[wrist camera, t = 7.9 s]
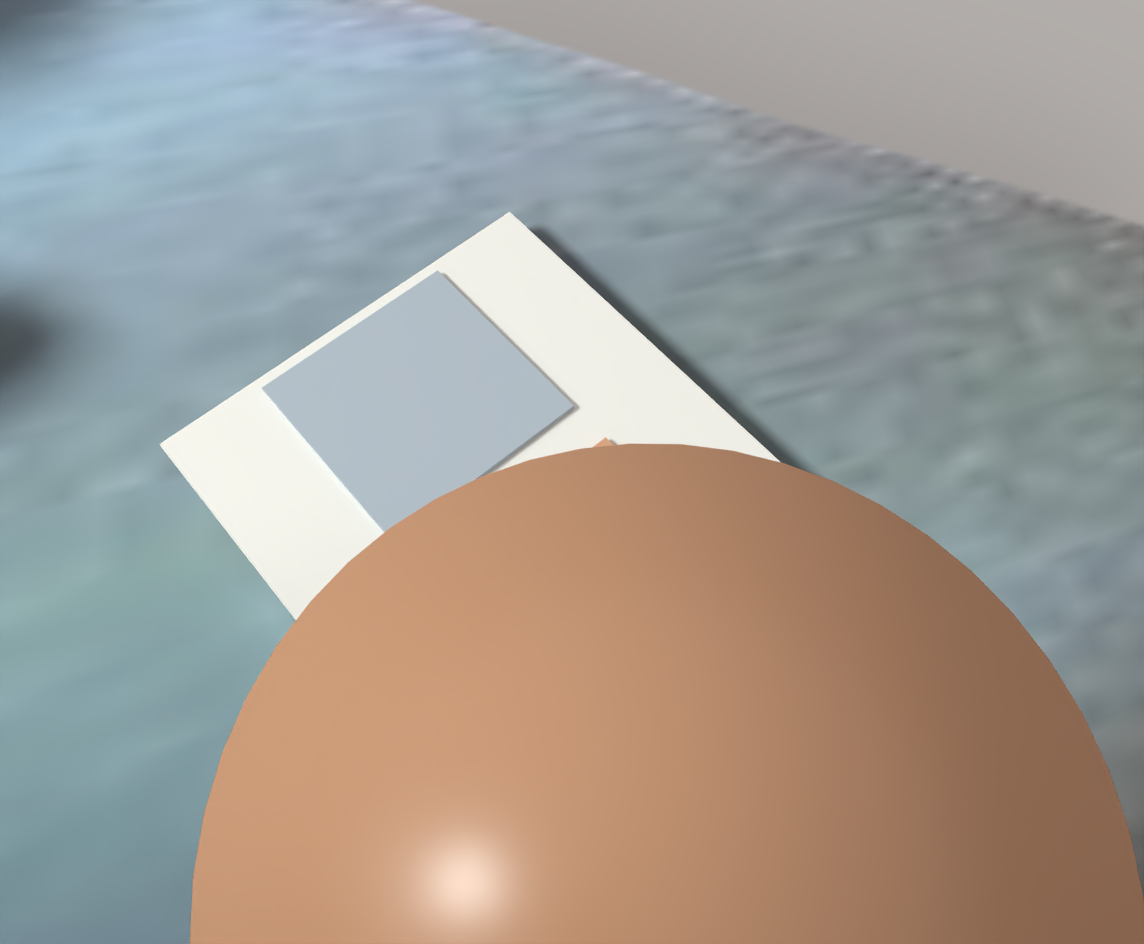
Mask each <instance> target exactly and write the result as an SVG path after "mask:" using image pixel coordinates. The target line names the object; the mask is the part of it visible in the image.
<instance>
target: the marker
mask: <svg viewBox="0 0 1144 944" xmlns="http://www.w3.org/2000/svg"><path fill="white" fill-rule="evenodd" d="M190 944H1144V900H1143V893H1142V888H1141V884H1140V879H1139V874H1138V870H1137V865H1136V860H1135V855H1134V851H1133V846H1132V841H1131V836H1130V832H1129V828H1128V825H1127V822H1126V819H1125V816H1124V814H1123V811H1122V808H1121V805H1120V802H1119V799H1118V796H1117V793H1116V790H1115V787H1114V784H1113V781H1112V778H1111V775H1110V772H1109V769H1108V767H1107V765H1106V763H1105V761H1104V759H1103V756H1102V754H1101V752H1100V750H1099V748H1098V746H1097V744H1096V742H1095V739H1094V737H1093V735H1092V733H1091V731H1090V729H1089V727H1088V725H1087V722H1086V720H1085V718H1084V716H1083V714H1082V712H1081V710H1080V709H1079V707H1078V705H1077V704H1076V702H1075V701H1074V699H1073V697H1072V696H1071V694H1070V692H1069V691H1068V689H1067V688H1066V686H1065V684H1064V683H1063V681H1062V680H1061V678H1060V676H1059V675H1058V673H1057V671H1056V670H1055V668H1054V667H1053V665H1052V663H1051V662H1050V660H1049V659H1048V657H1047V656H1046V655H1045V654H1044V652H1043V651H1042V650H1041V649H1040V647H1039V646H1038V645H1037V643H1036V642H1035V641H1034V640H1033V638H1032V637H1031V636H1030V635H1029V633H1028V632H1027V631H1026V629H1025V628H1024V627H1023V626H1022V624H1021V623H1020V622H1019V620H1018V619H1017V618H1016V617H1015V615H1014V614H1013V613H1012V612H1011V611H1010V610H1009V609H1008V608H1007V607H1006V606H1005V605H1004V604H1003V603H1002V602H1001V601H1000V600H999V599H998V598H997V596H996V595H995V594H994V593H993V592H992V591H991V590H990V589H989V588H988V587H987V586H986V585H985V584H984V583H983V582H982V581H981V580H980V579H979V578H978V577H977V576H976V575H975V574H974V573H973V572H972V571H971V570H970V569H968V568H967V567H966V566H965V565H963V564H962V563H961V562H960V561H959V560H957V559H956V558H955V557H954V556H952V555H951V554H950V553H949V552H948V551H946V550H945V549H944V548H943V547H941V546H940V545H939V544H938V543H937V542H935V541H934V540H933V539H932V538H930V537H929V536H928V535H926V534H925V533H923V532H922V531H920V530H919V529H917V528H916V527H914V526H913V525H911V524H909V523H908V522H906V521H905V520H903V519H902V518H900V517H899V516H897V515H896V514H894V513H892V512H891V511H889V510H888V509H886V508H885V507H883V506H882V505H880V504H878V503H876V502H874V501H872V500H870V499H868V498H866V497H864V496H862V495H860V494H858V493H856V492H854V491H852V490H850V489H848V488H846V487H844V486H842V485H840V484H838V483H836V482H834V481H831V480H828V479H826V478H823V477H820V476H817V475H815V474H812V473H809V472H806V471H804V470H801V469H798V468H796V467H793V466H790V465H787V464H785V463H781V462H777V461H773V460H769V459H765V458H761V457H757V456H753V455H749V454H744V453H740V452H736V451H732V450H724V449H716V448H708V447H700V446H692V445H684V444H621V445H611V446H601V447H592V448H582V449H576V450H572V451H567V452H563V453H558V454H554V455H549V456H545V457H540V458H536V459H531V460H528V461H525V462H522V463H519V464H516V465H513V466H511V467H508V468H505V469H502V470H499V471H496V472H493V473H490V474H488V475H485V476H482V477H480V478H478V479H476V480H473V481H471V482H469V483H467V484H465V485H463V486H461V487H459V488H457V489H455V490H453V491H451V492H449V493H447V494H445V495H443V496H440V497H438V498H436V499H434V500H433V501H431V502H430V503H428V504H427V505H425V506H423V507H422V508H420V509H419V510H417V511H416V512H414V513H412V514H411V515H409V516H408V517H406V518H405V519H403V520H402V521H400V522H398V523H397V524H395V525H394V526H392V527H391V528H389V529H388V530H387V531H386V532H384V533H383V534H382V535H381V536H380V537H378V538H377V539H376V540H375V541H373V542H372V543H371V544H370V545H369V546H367V547H366V548H365V549H364V550H362V551H361V552H360V553H359V554H358V555H356V556H355V557H354V558H353V559H351V560H350V561H349V562H348V563H347V564H346V565H345V566H344V567H343V568H342V569H341V570H340V571H339V572H338V573H337V574H336V575H335V576H334V578H333V579H332V580H331V581H330V582H329V583H328V584H327V585H326V586H325V587H324V588H323V589H322V590H321V591H320V592H319V593H318V594H317V595H316V596H315V597H314V598H313V599H312V600H311V601H310V603H309V604H308V605H307V607H306V608H305V609H304V611H303V612H302V613H301V615H300V616H299V617H298V619H297V620H296V621H295V622H294V624H293V625H292V626H291V628H290V629H289V630H288V632H287V633H286V634H285V636H284V637H283V638H282V640H281V641H280V642H279V644H278V645H277V646H276V648H275V649H274V651H273V653H272V655H271V656H270V658H269V660H268V661H267V663H266V665H265V667H264V668H263V670H262V672H261V673H260V675H259V677H258V678H257V680H256V682H255V684H254V685H253V687H252V689H251V690H250V692H249V694H248V696H247V697H246V700H245V702H244V704H243V706H242V709H241V711H240V713H239V716H238V718H237V720H236V722H235V725H234V727H233V729H232V732H231V734H230V736H229V738H228V741H227V743H226V745H225V748H224V750H223V752H222V755H221V759H220V762H219V765H218V769H217V772H216V775H215V779H214V782H213V785H212V789H211V792H210V795H209V799H208V802H207V805H206V809H205V812H204V817H203V823H202V829H201V834H200V840H199V846H198V852H197V857H196V863H195V869H194V875H193V891H192V911H191V930H190Z"/></svg>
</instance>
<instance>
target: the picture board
mask: <svg viewBox="0 0 1144 944" xmlns="http://www.w3.org/2000/svg"><path fill="white" fill-rule="evenodd" d="M621 444H684V445H692V446H700V447H708V448H716V449H724V450H732V451H736V452H740V453H744V454H749V455H753V456H757V457H761V458H765V459H769V460H773V461H777V462H780V461H779V460H778V459H777V458H776V457H774V456H773V455H772V454H771V453H770V452H769V451H768V450H767V449H766V448H765V447H764V446H763V445H761V444H760V443H759V442H758V441H757V440H756V439H755V438H754V437H753V436H752V435H751V434H750V433H748V432H747V431H746V430H745V429H744V428H743V427H742V426H741V425H740V424H739V423H738V422H737V421H735V420H734V419H733V418H732V417H731V416H730V415H729V414H728V413H727V412H726V411H725V410H724V409H722V408H721V407H720V406H719V405H718V404H717V403H716V402H715V401H714V400H713V399H712V398H711V397H709V396H708V395H707V394H706V393H705V392H704V391H703V390H702V389H701V388H700V387H699V386H698V385H697V384H695V383H694V382H693V381H692V380H691V379H690V378H689V377H688V376H687V375H686V374H685V373H684V372H682V371H681V370H680V369H679V368H678V367H677V366H676V365H675V364H674V363H673V362H672V361H671V360H669V359H668V358H667V357H666V356H665V355H664V354H663V353H662V352H661V351H660V350H659V349H658V348H656V347H655V346H654V345H653V344H652V343H651V342H650V341H649V340H648V339H647V338H646V337H645V336H643V335H642V334H641V333H640V332H639V331H638V330H637V329H636V328H635V327H634V326H633V325H632V324H630V323H629V322H628V321H627V320H626V319H625V318H624V317H623V316H622V315H621V314H620V313H619V312H617V311H616V310H615V309H614V308H613V307H612V306H611V305H610V304H609V303H608V302H607V301H606V300H604V299H603V298H602V297H601V296H600V295H599V294H598V293H597V292H596V291H595V290H594V289H593V288H591V287H590V286H589V285H588V284H587V283H586V282H585V281H584V280H583V279H582V278H581V277H580V276H579V275H577V274H576V273H575V272H574V271H573V270H572V269H571V268H570V267H569V266H568V265H567V264H566V263H564V262H563V261H562V260H561V259H560V258H559V257H558V256H557V255H556V254H555V253H554V252H553V251H551V250H550V249H549V248H548V247H547V246H546V245H545V244H544V243H543V242H542V241H541V240H540V239H538V238H537V237H536V236H535V235H534V234H533V233H532V232H531V231H530V230H529V229H528V228H527V227H525V226H524V225H523V224H522V223H521V222H520V221H519V220H518V219H517V218H516V217H515V216H514V215H512V214H511V213H510V212H509V213H507V214H506V215H504V216H503V217H501V218H500V219H498V220H497V221H495V222H494V223H492V224H491V225H489V226H488V227H486V228H485V229H483V230H482V231H480V232H479V233H477V234H476V235H474V236H473V237H471V238H470V239H468V240H467V241H465V242H464V243H462V244H461V245H459V246H458V247H456V248H455V249H453V250H452V251H450V252H448V253H447V254H445V255H444V256H442V257H441V258H439V259H438V260H436V261H435V262H433V263H432V264H430V265H429V266H427V267H426V268H424V269H423V270H421V271H420V272H418V273H417V274H415V275H414V276H412V277H411V278H409V279H408V280H406V281H405V282H403V283H402V284H400V285H399V286H397V287H396V288H394V289H393V290H391V291H390V292H388V293H387V294H385V295H384V296H382V297H381V298H379V299H378V300H376V301H375V302H373V303H372V304H370V305H369V306H367V307H366V308H364V309H363V310H361V311H360V312H358V313H357V314H355V315H354V316H352V317H351V318H349V319H348V320H346V321H345V322H343V323H341V324H340V325H338V326H337V327H335V328H334V329H332V330H331V331H329V332H328V333H326V334H325V335H323V336H322V337H320V338H319V339H317V340H316V341H314V342H313V343H311V344H310V345H308V346H307V347H305V348H304V349H302V350H301V351H299V352H298V353H296V354H295V355H293V356H292V357H290V358H289V359H287V360H286V361H284V362H283V363H281V364H280V365H278V366H277V367H275V368H274V369H272V370H271V371H269V372H268V373H266V374H265V375H263V376H262V377H260V378H259V379H257V380H256V381H254V382H253V383H251V384H250V385H248V386H247V387H245V388H244V389H242V390H241V391H239V392H237V393H236V394H234V395H233V396H231V397H230V398H228V399H227V400H225V401H224V402H222V403H221V404H219V405H218V406H216V407H215V408H213V409H212V410H210V411H209V412H207V413H206V414H204V415H203V416H201V417H200V418H198V419H197V420H195V421H194V422H192V423H191V424H189V425H188V426H186V427H185V428H183V429H182V430H180V431H179V432H177V433H176V434H174V435H173V436H171V437H170V438H168V439H167V440H165V441H164V442H162V443H161V444H160V446H161V447H162V448H163V450H164V451H165V452H166V454H167V455H168V456H169V458H170V459H171V460H172V462H173V463H174V464H175V465H176V467H177V468H178V469H179V471H180V472H181V473H182V474H183V476H184V477H185V478H186V480H187V481H188V482H189V483H190V485H191V486H192V487H193V489H194V490H195V491H196V492H197V494H198V495H199V496H200V498H201V499H202V500H203V501H204V503H205V504H206V505H207V507H208V508H209V509H210V510H211V512H212V513H213V514H214V516H215V517H216V518H217V519H218V521H219V522H220V523H221V525H222V526H223V527H224V529H225V530H226V531H227V532H228V534H229V535H230V536H231V538H232V539H233V540H234V541H235V543H236V544H237V545H238V547H239V548H240V549H241V550H242V552H243V553H244V554H245V556H246V557H247V558H248V559H249V561H250V562H251V563H252V565H253V566H254V567H255V568H256V570H257V571H258V572H259V574H260V575H261V576H262V577H263V579H264V580H265V581H266V583H267V584H268V585H269V586H270V588H271V589H272V590H273V592H274V593H275V594H276V595H277V597H278V598H279V599H280V601H281V602H282V603H283V604H284V606H285V607H286V608H287V610H288V611H289V612H290V614H291V615H292V616H293V617H294V619H295V620H297V619H298V617H299V616H300V615H301V613H302V612H303V611H304V609H305V608H306V607H307V605H308V604H309V603H310V601H311V600H312V599H313V598H314V597H315V596H316V595H317V594H318V593H319V592H320V591H321V590H322V589H323V588H324V587H325V586H326V585H327V584H328V583H329V582H330V581H331V580H332V579H333V578H334V576H335V575H336V574H337V573H338V572H339V571H340V570H341V569H342V568H343V567H344V566H345V565H346V564H347V563H348V562H349V561H350V560H351V559H353V558H354V557H355V556H356V555H358V554H359V553H360V552H361V551H362V550H364V549H365V548H366V547H367V546H369V545H370V544H371V543H372V542H373V541H375V540H376V539H377V538H378V537H380V536H381V535H382V534H383V533H384V532H386V531H387V530H388V529H389V528H391V527H392V526H394V525H395V524H397V523H398V522H400V521H402V520H403V519H405V518H406V517H408V516H409V515H411V514H412V513H414V512H416V511H417V510H419V509H420V508H422V507H423V506H425V505H427V504H428V503H430V502H431V501H433V500H434V499H436V498H438V497H440V496H443V495H445V494H447V493H449V492H451V491H453V490H455V489H457V488H459V487H461V486H463V485H465V484H467V483H469V482H471V481H473V480H476V479H478V478H480V477H482V476H485V475H488V474H490V473H493V472H496V471H499V470H502V469H505V468H508V467H511V466H513V465H516V464H519V463H522V462H525V461H528V460H531V459H536V458H540V457H545V456H549V455H554V454H558V453H563V452H567V451H572V450H576V449H582V448H592V447H601V446H611V445H621Z"/></svg>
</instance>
